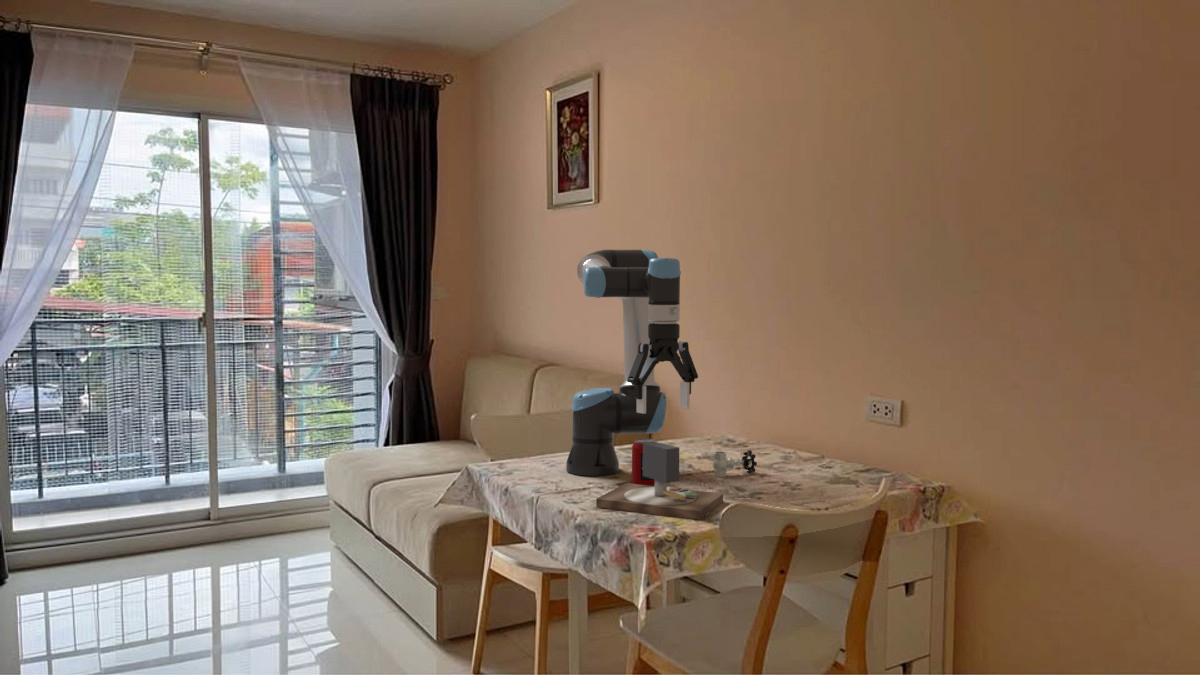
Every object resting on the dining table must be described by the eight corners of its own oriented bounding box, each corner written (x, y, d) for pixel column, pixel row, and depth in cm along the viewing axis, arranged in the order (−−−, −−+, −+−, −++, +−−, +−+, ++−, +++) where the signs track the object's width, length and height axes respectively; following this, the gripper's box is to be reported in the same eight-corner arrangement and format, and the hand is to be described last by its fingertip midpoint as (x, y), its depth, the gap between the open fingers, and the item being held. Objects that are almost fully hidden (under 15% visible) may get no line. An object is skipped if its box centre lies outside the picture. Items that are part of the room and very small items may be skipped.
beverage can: (649, 489, 223) (649, 443, 222) (627, 485, 226) (627, 441, 225) (661, 484, 228) (662, 439, 228) (639, 481, 232) (639, 437, 231)
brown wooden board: (596, 506, 205) (596, 496, 204) (625, 490, 221) (625, 481, 221) (700, 519, 194) (700, 508, 194) (723, 501, 210) (723, 491, 210)
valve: (719, 478, 235) (756, 475, 240) (719, 455, 235) (757, 452, 239) (707, 474, 241) (744, 470, 246) (707, 450, 241) (744, 448, 245)
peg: (642, 491, 210) (642, 443, 209) (655, 489, 212) (655, 441, 211) (677, 503, 199) (677, 452, 198) (690, 500, 201) (690, 450, 201)
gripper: (632, 324, 195) (632, 416, 196) (712, 322, 209) (711, 408, 210) (612, 323, 201) (612, 412, 202) (692, 321, 215) (691, 404, 217)
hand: (663, 410), depth 206 cm, fingers open, 13 cm apart
